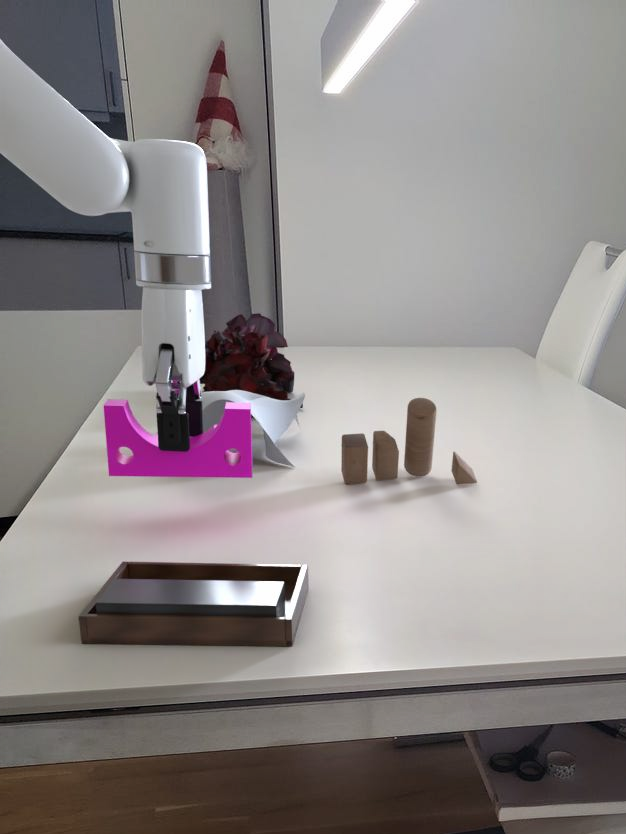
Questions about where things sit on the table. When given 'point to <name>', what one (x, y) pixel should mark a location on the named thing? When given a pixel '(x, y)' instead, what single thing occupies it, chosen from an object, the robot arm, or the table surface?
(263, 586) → the wooden tray
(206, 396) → the sculpture
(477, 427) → the table surface
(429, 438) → the wooden block set
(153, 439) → the toy block
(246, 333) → the flower arrangement
